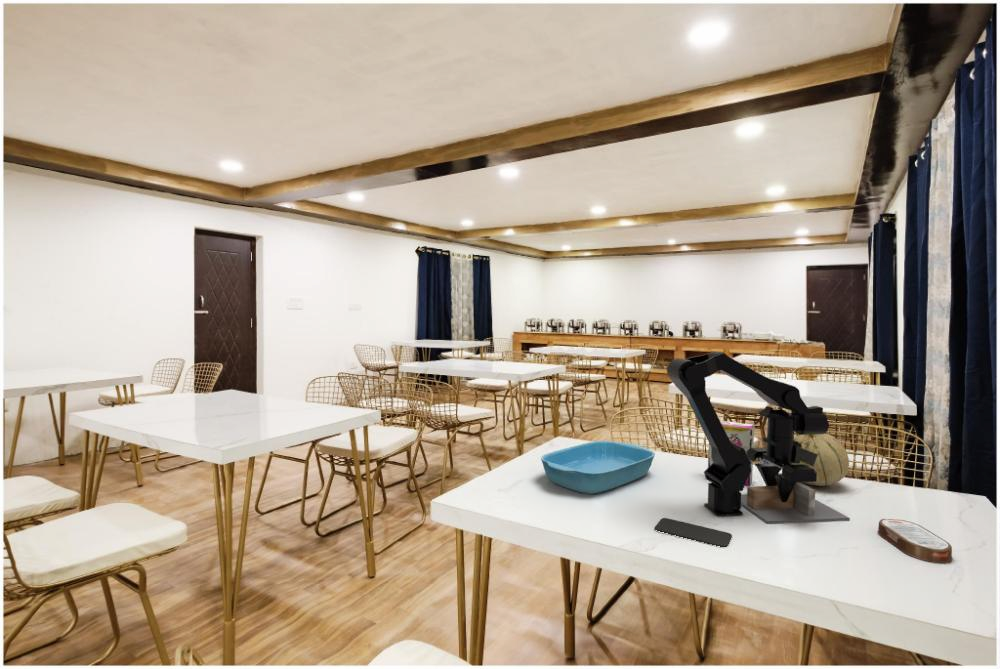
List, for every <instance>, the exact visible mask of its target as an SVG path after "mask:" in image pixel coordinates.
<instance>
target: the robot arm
mask: <svg viewBox="0 0 1000 669" xmlns="http://www.w3.org/2000/svg"><path fill="white" fill-rule="evenodd" d="M718 372H720V373H722V374H724V375H726V376H728V377H730V378H732V379H733V380H735V381H737V382H739V383H741V384H743V385H744V386H746V387H748V388H750V389H752V390H753V391H754V392H755V393H756V394H757V396H758V397H760V398H761V399H762V400H763V401H765V402H766V403H767V404H769V405H771V406H775V407H778V408H780V409H774V408H773V407H771V406H765V408H764V409H762V410H761V411H759V412H758V415H759V416H761V417H764V418H767V428H766V429H767V430H766V431H767V432H766V436H763V437H762V442H764V443H766V447H765V446H763V447H753V448H750V449H749V450H748V451H747V455H746V451H745V450H744V448H742V447H740V446H738V445H736V444H734V443H732V442H730V440H729V438H728V436H727V434H726V432H725V430H724V428H723V426H722V424H721V422H720V421H721V420H720V418H719V416H718V414H717V412H716V410H715V408H714V406H713V403H712V402H711V400H710V398H709V396H708V394H707V391H706V378H708V377H710V376H713V375H714V374H716V373H718ZM666 373H667V376H668V378H669V379H670V380H671V382H672V383H673V385H674V386H675V388H677V389H678V390H679V391H680V392H681V393H682V394H683V395H684V396H685V397H686V400H687V402H688V404H689V406H690V407H691V410H692V412H693V414H694V415H695V418H696V420H697V421H698V423H699V425H700V427H701V429H702V431H703V433H704V435H705V438H706V439H707V442H708V444H709V443H710V445H711V457H712V460H713V463H712V464H711V465H710V466H709V467H708V466H707V468H706V469H705V470H704V472H703V474H704V476H705V480H707V481H708V484H707V485H708V486H707V487H708V488H707V502H706V503H704V507H706V509H708V510H709V511H710V512H712V513H714V514H715V516H719V517H720V516H721V517H722V516H723V517H724V516H742V515H743V514H744V512H743V511H741V509H742V506H741V495H742V492H743V491H744V488H745V486H746V485H745V483H746V481H747V479H748V477H749V476H750V473H751V467H750V465H749V464H752V462H751V461H753V462H755V461H756V460H757V462H756V463H754V466H755V468H757V470H758V472H759V474H760V476H761V478H762V480H763V482H764V484H765V486H778V490H779V494H780V498H781V501H782V502H787V500H788V498H789V496H790V494H791V492H792V490H793V488H794V486H795V484H796V483H797V482H800V483H805V482H817V472H816V471H815V470H814V469H813V468H810V467H808V466H806V465H804V464H799V465H791V464H792V463H800V461H802V462H804V463H807V464H809V465H810V466H814V464H815V461H816V459H817V456H818V454H816V453H813V452H811V451H809V450H806V449H803V448H802V445H801V443H798V441H795V440H794V438H795V434H797V435H819V434H827V433H828V431H829V427H830V421H828V418H827V414H825V413H824V408H823V407H821V406H818V405H812V406H807V405H806V403H805V402H804V400H803V398H801V391H800V389H799V388H798V387H797V386H794V385H792V384H789V383H785V382H782V381H779V380H775V379H772V378H770V377H766V376H765V375H763V374H761V373H759V372H758V371H756V370H754V369H752V368H750V367H748V366H746V364H745V365H744V364H743V363H741V362H739V361H737V360H736V359H733V358H732V357H730V356H729V355H728V354H726V353H725V352H720V351H710V352H708V353H705V354H701V355H696V356H691V357H687V358H680V357H678V358H674V359H672V360H671V361H670V362H669V364H668V366H667V368H666ZM787 410H788V411H790V412H788V411H787ZM749 460H751V461H749ZM780 471H781V472H780ZM778 473H782V474H778Z"/></svg>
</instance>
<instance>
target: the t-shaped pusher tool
mask: <svg viewBox="0 0 1000 669" xmlns="http://www.w3.org/2000/svg"><path fill="white" fill-rule="evenodd" d="M778 474H782V472H779V473H778ZM746 489H747V490H746V494H747V505H748V506H749V507H751V508H752V509H754V510H757V509H784V508H793V507H794V508H796V509H798V510H799V511H801V512H803V513H805V514H806V515H808V516H814V512H815V500H816V489H814V488H812V487H810V486H808V485H806V484H804V483H803V482H797V483H796V484H795V486H794V488H793V490H792V492H791V494H790V496H789V498H788V500H787V502H782V501H781V498H780V494H779V490H778V486H766V485H764V486H763V485H760V486H759V485H758V486H756V485H755V486H754V485H753V486H747V487H746Z"/></svg>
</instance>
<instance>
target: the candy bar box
mask: <svg viewBox="0 0 1000 669" xmlns="http://www.w3.org/2000/svg"><path fill="white" fill-rule="evenodd" d="M720 422H721V424H722V426H723V428H724V430H725V432H726V434H727V436H728V438H729V440H730V442H732V443H734V444H736V445H738V446H740V447H742V448H744V450H745V451H746V455H747V451H748V450H749V449H750V448H754V447H755V446H754V444H755V443H754V441H755V424H750V423H744V422H743V423H741V422H734V421H726V420H720ZM707 456H708V458H707V468H708V467H709V466H710V465H711V464H712V463H713V460H712V457H711V445H710V443H709V442H708V454H707ZM749 461H751V460H749ZM751 462H752V464H749V465H750V467H751V473H750V476H749V477H748V479H747V481H746V483H745V486H747V487H751V484H752V482H753V472H754V471H753V465H754V461H751Z"/></svg>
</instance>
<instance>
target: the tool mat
mask: <svg viewBox="0 0 1000 669" xmlns="http://www.w3.org/2000/svg"><path fill="white" fill-rule="evenodd" d="M742 506H743V507H742ZM741 507H742V508H744V509H745V510H747V511H749V513H751V514H752V515H754V516H755V517H757V518H759V519H760V520H761V521H762V522H764V523H765V524H767V525H769V524H773V525H774V524H792V523H816V522H817V523H818V522H820V523H821V522H842V521H843V522H844V521H845V522H846V521H847V522H848V521H851V520H850V519H851V517H848V516H847V515H845V514H844V513H841V512H840V511H837V510H836V509H834V508H832V507H831V506H828V505H826V504H825V503H823V502H821V501H819V500H817V499H815V512H814V516H808V515H806V514H805V513H803V512H801V511H799V510H798V509H796V508H794V507H793V508H784V509H757V510H754V509H752V508H751V507H749V506H748V505H747V493H746V494H741Z"/></svg>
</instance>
